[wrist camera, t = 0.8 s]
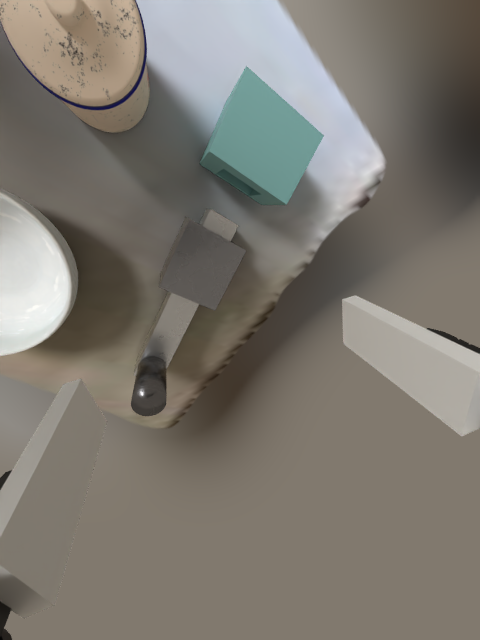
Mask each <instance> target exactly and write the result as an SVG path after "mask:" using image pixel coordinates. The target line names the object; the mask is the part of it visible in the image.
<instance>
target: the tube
mask: <svg viewBox="0 0 480 640" xmlns="http://www.w3.org/2000/svg"><path fill="white" fill-rule="evenodd" d="M199 224H200V225H201V226H203V227H205V228H207V229H209V230H210V231H212V232H214V233H216V234H218V235H219V236H221V237H223V238H225V239H227V240H228V241H230V242H231V240H232V238H233V236H234V234H235V232H236V230H237V228H238V226H239V225H237V224H235V223H233V222H232V221H230V220H228V219H227V218H225V217H223V216H222V215H220V214H218V213H217V212H215V211H213V210H212V209H206V210H205V212H204V215H203V217H202V219H201V221H200V223H199ZM198 306H199V304H198V303H195V302H193V301H190V300H188V299H186V298H183V297H181V296H179V295H176V294H174V293H171V292H169V291H168V293H167V295H166V297H165V299H164V301H163V304H162V306H161V308H160V310H159V312H158V315H157V317H156V319H155V321H154V323H153V325H152V328H151V330H150V332H149V334H148V336H147V338H146V341H145V343H144V345H143V347H142V349H141V351H140V354H139V356H138V358H137V360H136V365H135V370H134V375H135V376H136V379H135V384H134V390H133V395H132V401H131V407H132V409H133V410H134V411H135V412H136V413H137V414H139V415H142V416H152V415H156V414H158V413H159V412H161V411H162V410H163V409H164V407H165V405H166V369H167V367H168V365H169V363H170V361H171V359H172V357H173V355H174V354H175V352H176V350H177V348H178V346H179V344H180V342H181V340H182V338H183V336H184V334H185V332H186V330H187V328H188V326H189V324H190V322H191V320H192V318H193V316H194V314H195V312H196V310H197V308H198Z"/></svg>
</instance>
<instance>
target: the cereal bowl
mask: <svg viewBox="0 0 480 640" xmlns="http://www.w3.org/2000/svg"><path fill="white" fill-rule="evenodd" d="M77 291H78V270H77V266H76V263H75V259H74V256H73V254H72V251H71V249H70V248H69V246H68V244H67V242H66V240H65V239H64V237H63V236H62V235H61V233H60V232H59V231H58V230H57V228H56V227H55V226H54V225H53V223H51V222H50V221H49V219H47V218H46V217H45V216H44V215H43V214H42V213H40V212H39V211H38V210H37V209H35V208H34V207H33V206H32V205H30V204H28V203H27V202H26V201H24V200H22V199H21V198H19V197H17V196H15V195H14V194H12V193H10V192H8V191H6V190H4V189H2V188H0V356H4V355H10V354H14V353H18V352H22V351H25V350H27V349H30V348H32V347H34V346H36V345H38V344H40V343H42V342H43V341H45V340H46V339H48V338H49V337H50V336H51V335H52V334H53V333H55V332H56V331H57V329H58V328H60V327H61V325H62V324H63V323H64V322H65V320H66V318H67V317H68V315H69V314H70V312H71V310H72V308H73V305H74V303H75V300H76V296H77Z"/></svg>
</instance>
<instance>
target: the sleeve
mask: <svg viewBox="0 0 480 640" xmlns="http://www.w3.org/2000/svg"><path fill="white" fill-rule="evenodd" d="M245 252H246V250H245V249H243V248H241V247H239V246H238V245H236V244H234V243H232V242H230V241H228V240H227V239H225V238H223V237H221V236H219V235H218V234H216V233H214V232H212V231H210V230H209V229H207V228H205V227H203V226H201V225H200V224H198V223H196V222H194V221H193V220H191V219H189V218H187V217H185V220H184V222H183V224H182V226H181V229H180V231H179V233H178V235H177V238H176V240H175V242H174V244H173V247H172V249H171V251H170V253H169V256H168V258H167V260H166V262H165V265H164V267H163V269H162V271H161V274H160V282H159V288H162V289H164V290H167V291H169V292H171V293H174V294H176V295H179V296H181V297H183V298H186V299H188V300H190V301H193V302H195V303H198V304H200V305H202V306H205V307H207V308H210V309H212V310H214V311H215V310H216V308H217V306H218V304H219V302H220V300H221V298H222V296H223V295H224V293H225V291H226V289H227V287H228V285H229V283H230V281H231V279H232V277H233V275H234V274H235V272H236V270H237V268H238V266H239V264H240V262H241V260H242V258H243V256H244V254H245Z"/></svg>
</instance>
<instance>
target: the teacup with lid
mask: <svg viewBox="0 0 480 640" xmlns="http://www.w3.org/2000/svg"><path fill="white" fill-rule="evenodd" d="M0 20H1V23H2V26H3V29H4V32H5V34H6V36H7V38H8V41H9V43H10V45H11V47H12V48H13V50H14V52H15V54H16V55H17V57H18V58H19V60H20V61H21V63H22V64H23V65H24V67H25V68H26V69H27V71H28V72H29V73H30V74H31V75H32V76H33V77H34V79H35V80H36V81H37V82H38V83H39V84H41V85H42V86H43V87H44V88H45V89H46V90H48V91H49V92H50V93H51V94H53V95H54V96H56V97H57V98H59V99H60V100H61V101H62V102H63V103H64V104H65V105H66V106H67V107H68V108H69V109H70V110H71V111H72V112H73V113H74V114H75V115H77V116H78V117H79V118H80V119H81V120H82V121H84V122H85V123H87V124H88V125H90V126H92V127H94V128H96V129H99V130H101V131H105V132H114V133H115V132H123V131H126V130H129V129H131V128H132V127H134V126H135V125H136V124H137V123H138V122H139V121H140V120H141V119H142V117H143V116H144V114H145V112H146V109H147V106H148V102H149V95H150V87H149V78H148V71H147V65H146V54H147V46H146V35H145V29H144V24H143V20H142V17H141V13H140V10H139V8H138V5H137V3H136V0H0Z"/></svg>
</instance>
